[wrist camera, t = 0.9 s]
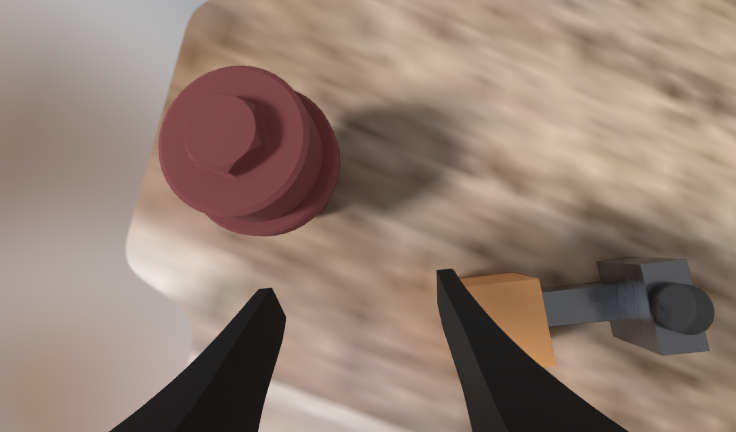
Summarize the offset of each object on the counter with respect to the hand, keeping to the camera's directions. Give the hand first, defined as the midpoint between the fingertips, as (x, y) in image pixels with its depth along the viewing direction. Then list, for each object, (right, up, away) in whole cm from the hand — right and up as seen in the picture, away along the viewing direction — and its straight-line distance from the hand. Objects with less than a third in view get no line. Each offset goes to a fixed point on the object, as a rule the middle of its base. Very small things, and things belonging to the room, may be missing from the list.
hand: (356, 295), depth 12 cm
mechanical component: (-6, +6, +14) cm, 16 cm away
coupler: (+17, -4, +11) cm, 21 cm away
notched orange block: (+10, -5, +11) cm, 16 cm away
